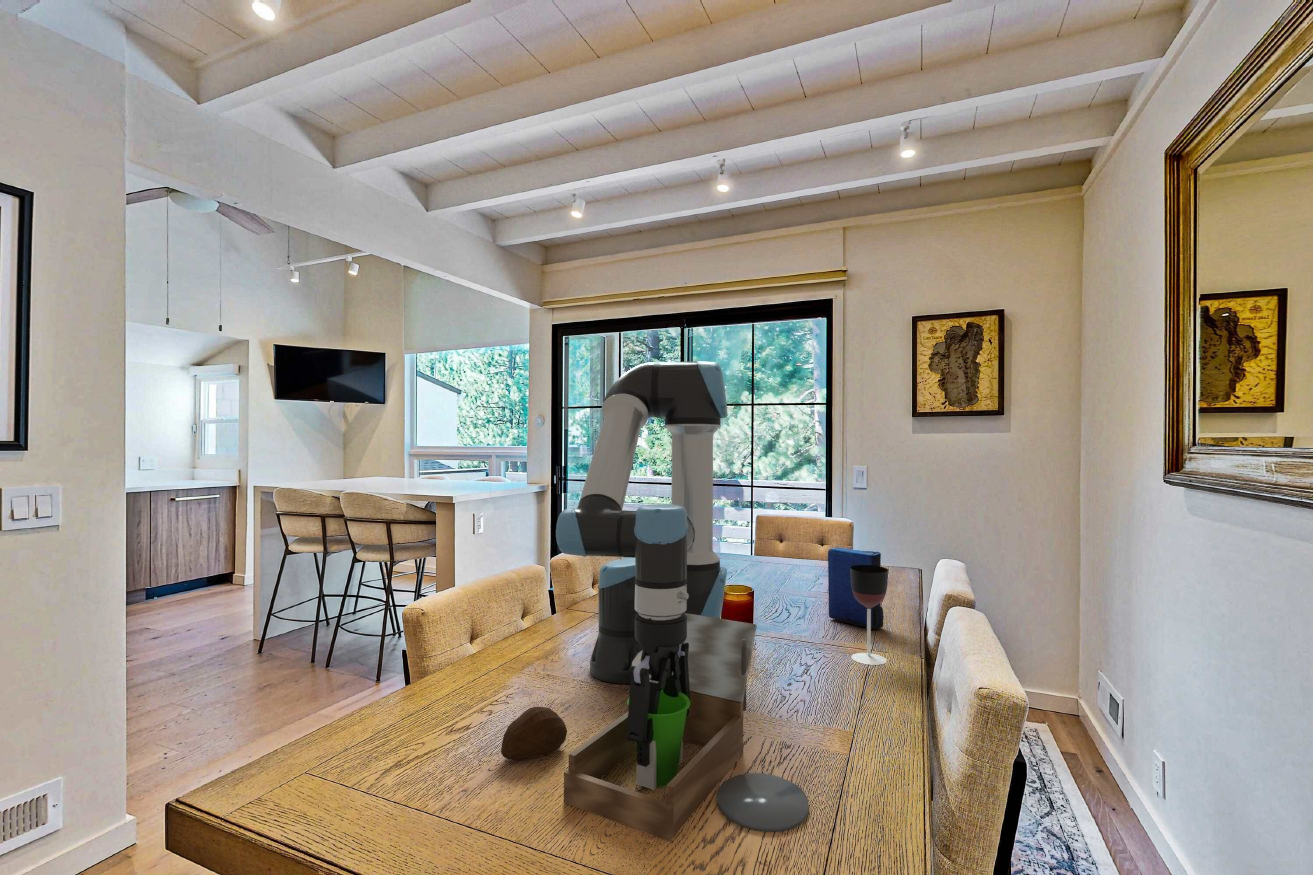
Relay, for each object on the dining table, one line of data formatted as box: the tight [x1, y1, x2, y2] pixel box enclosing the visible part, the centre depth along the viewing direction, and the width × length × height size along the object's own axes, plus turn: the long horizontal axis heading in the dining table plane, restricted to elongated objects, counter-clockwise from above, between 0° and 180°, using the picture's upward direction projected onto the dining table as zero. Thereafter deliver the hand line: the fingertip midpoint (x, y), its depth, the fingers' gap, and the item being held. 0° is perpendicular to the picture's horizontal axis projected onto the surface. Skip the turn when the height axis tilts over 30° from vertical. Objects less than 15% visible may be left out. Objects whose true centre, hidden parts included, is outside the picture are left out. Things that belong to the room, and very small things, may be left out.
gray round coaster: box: [716, 772, 810, 833], centre depth 81 cm, size 12×12×1 cm
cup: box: [626, 690, 690, 788], centre depth 88 cm, size 9×9×11 cm
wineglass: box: [850, 565, 889, 666], centre depth 136 cm, size 8×9×20 cm
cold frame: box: [563, 613, 757, 842], centre depth 91 cm, size 16×30×19 cm, turn 151°
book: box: [827, 546, 884, 630], centre depth 162 cm, size 14×5×20 cm, turn 42°
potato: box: [500, 706, 568, 762], centre depth 94 cm, size 7×10×7 cm
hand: (660, 771), depth 88 cm, fingers closed on cup, 7 cm apart
